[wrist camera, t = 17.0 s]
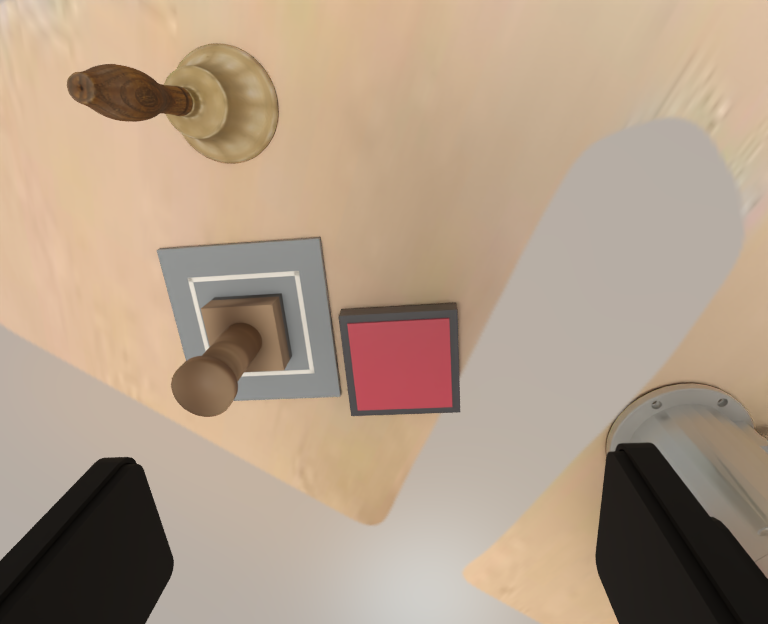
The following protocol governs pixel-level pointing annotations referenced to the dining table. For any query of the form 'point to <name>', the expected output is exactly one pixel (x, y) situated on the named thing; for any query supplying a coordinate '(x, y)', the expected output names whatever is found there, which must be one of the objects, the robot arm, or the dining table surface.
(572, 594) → the dining table surface
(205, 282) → the board
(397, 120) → the dining table surface
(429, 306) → the ink pad
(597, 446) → the dining table surface
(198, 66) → the hand bell
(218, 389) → the stamp
